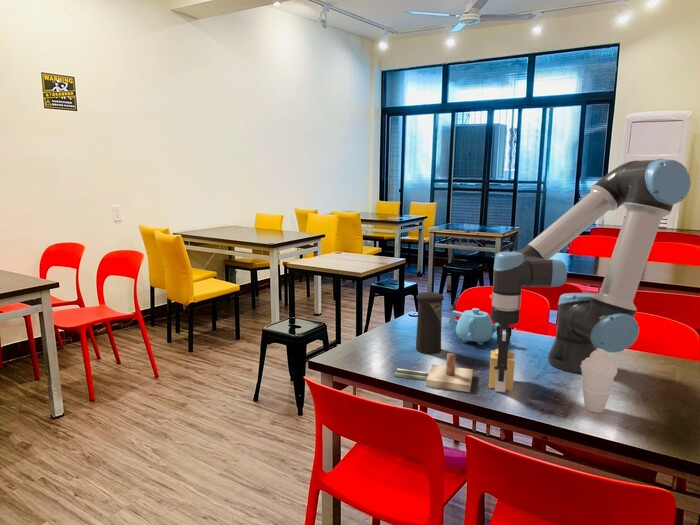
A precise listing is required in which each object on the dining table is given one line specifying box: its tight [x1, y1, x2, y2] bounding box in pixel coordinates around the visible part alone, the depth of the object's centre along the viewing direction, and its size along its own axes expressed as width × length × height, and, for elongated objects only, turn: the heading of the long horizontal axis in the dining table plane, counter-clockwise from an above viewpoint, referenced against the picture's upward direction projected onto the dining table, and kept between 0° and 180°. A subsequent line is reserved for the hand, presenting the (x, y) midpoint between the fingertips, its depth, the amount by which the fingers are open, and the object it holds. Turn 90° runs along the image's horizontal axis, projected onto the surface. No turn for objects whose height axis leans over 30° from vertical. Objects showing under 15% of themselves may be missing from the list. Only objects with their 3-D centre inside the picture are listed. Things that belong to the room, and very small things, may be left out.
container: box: [415, 291, 445, 355], centre depth 164 cm, size 9×9×20 cm
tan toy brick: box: [488, 348, 516, 392], centre depth 137 cm, size 6×6×10 cm
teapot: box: [448, 307, 500, 346], centre depth 175 cm, size 20×17×12 cm
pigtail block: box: [393, 352, 474, 393], centre depth 141 cm, size 22×12×8 cm, turn 72°
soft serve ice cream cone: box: [580, 348, 618, 414], centre depth 122 cm, size 8×8×16 cm
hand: (500, 384), depth 138 cm, fingers open, 9 cm apart
